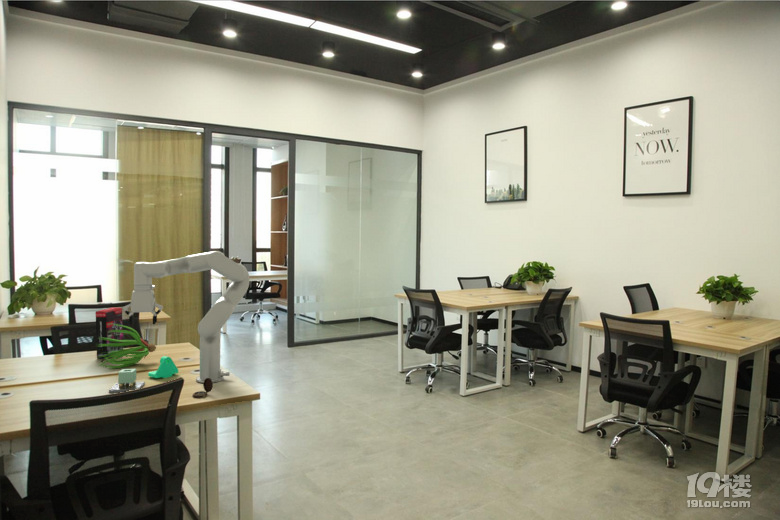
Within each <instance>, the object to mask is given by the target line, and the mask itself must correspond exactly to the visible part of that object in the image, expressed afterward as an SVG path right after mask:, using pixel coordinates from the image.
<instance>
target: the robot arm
mask: <svg viewBox="0 0 780 520" xmlns="http://www.w3.org/2000/svg"><path fill="white" fill-rule="evenodd" d="M209 270H213V271H215V272H216V273H218V274H219V275H221V276H223V277H224V278H227V279H228V280H230V281H231V282H230V284H229V285H228V287H227V288H226V290H225V291H224V293H223V294H222V295H221V296H220V297H219V298H218V299H217V300H216V301H215V302H214V303H213V305H212V306H211V308H209V309H208V311H207V312H206V313H205V315H204V317H203V318H202V319H201V320H200V321H199V322H198V325H197V333H198V335H199V376H197V377H196V378H195V380H196V382H197V383H200V384H204V380H205V379H206V378H210V379H211V380H212V383H218V382H221V381H223V380H224V377H230V371H224V370H222V368H221V338H222V337H221V335H222V333H221V332H222V328H223V327H224V325H225V324H226V323H227V321H229V320H230V318H231V316H232V314H233V313H234V310H235V309H236V307H237V306H238V304H239V303H240V302H241V300H242V298H244V297H245V294H246V293H247V291H248V288H249V287H250V273H249V271H248V270H247V267H246V266H245V265H244V264H242V263H238V262H235V261H234V260H232V259H231V258H229V257H227V256H225V254H224V253H223V252H222V251H219V250H212V251H208V252H202V253H201V252H200V253H196V254H190V255H187V256H183V257H178V258H173V259H169V260H167V259H166V260H162V261H161V260H160V261H155V262H148V261H137V262H135V263H134V264H133V291H132V293H131V298H130V303H129V304H126V305H125V306H123V307H122V310H123V312H124V313H125V314H126V315H128V318H129V319H128V322H129V324H130V326H133V325H134V324H135V320H134V319H135V317H134V316H135V315H134V314H135V313H151V314H152V324H153V325H155V324H156V323H158V315H159V314H160V313H161V312H162V310H163V308H164V306H163V305H161V304H159V303H157V302H156V296H155V291H154V290H153V289H156V285H154V284H153V279H152V278H156V279H158V278H159V279H161V278H164V277H168V276H174V275H178V274H187V273H188V274H192V273H199V272H204V271H209ZM128 308H130V311H129V309H128ZM156 308H158V310H156Z"/></svg>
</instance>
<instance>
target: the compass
mask: <svg viewBox="0 0 780 520" xmlns="http://www.w3.org/2000/svg"><path fill="white" fill-rule="evenodd" d="M202 384H203V391H202V390H201V391H195V392H194V393H193V394H192V398H194V399H195V398H196V399H197V398H198V399H201V398H205V397H206V398H207V397H208V393H210V392H211V391H212V390H213V385H214V384H213V383H212V380H211V379H210V378H206V379H205V380H204V383H202Z"/></svg>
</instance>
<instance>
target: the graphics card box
mask: <svg viewBox="0 0 780 520" xmlns="http://www.w3.org/2000/svg"><path fill="white" fill-rule="evenodd" d="M107 323H111V324H107ZM114 324H118V325H123V307H109V308H105V309H101V310H97V311H95V333H96V334H95V336H96V337H95V338H96V339H95V341H96V343H97V344H96V343H95V344H96V358H97V357H99V358H98V359H100V360H101V359H102V360H103V359H105V358H106V357H108V356H110V355H108V356H104V357H100V356H103V355H106V354H109V353H112V352H111V351H119V350H123V349H124V346H118V348H116V347H110V346H100V345H98V344H108V343H124V342H112V341H107V340H103V339H107V338H111V340H112V339H116V340H124V333H120V332H112V331H111V330H124V329H123V328H124V327H122V326H118V325H114ZM107 331H109V332H110V333H107ZM118 334H120V335H118ZM112 335H113V336H112ZM101 337H103V338H102V339H99V338H101ZM98 346H99V347H98ZM108 347H109V348H108ZM106 348H107V349H106ZM107 352H109V353H107ZM115 354H116V353H115ZM111 355H112V354H111Z"/></svg>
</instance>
